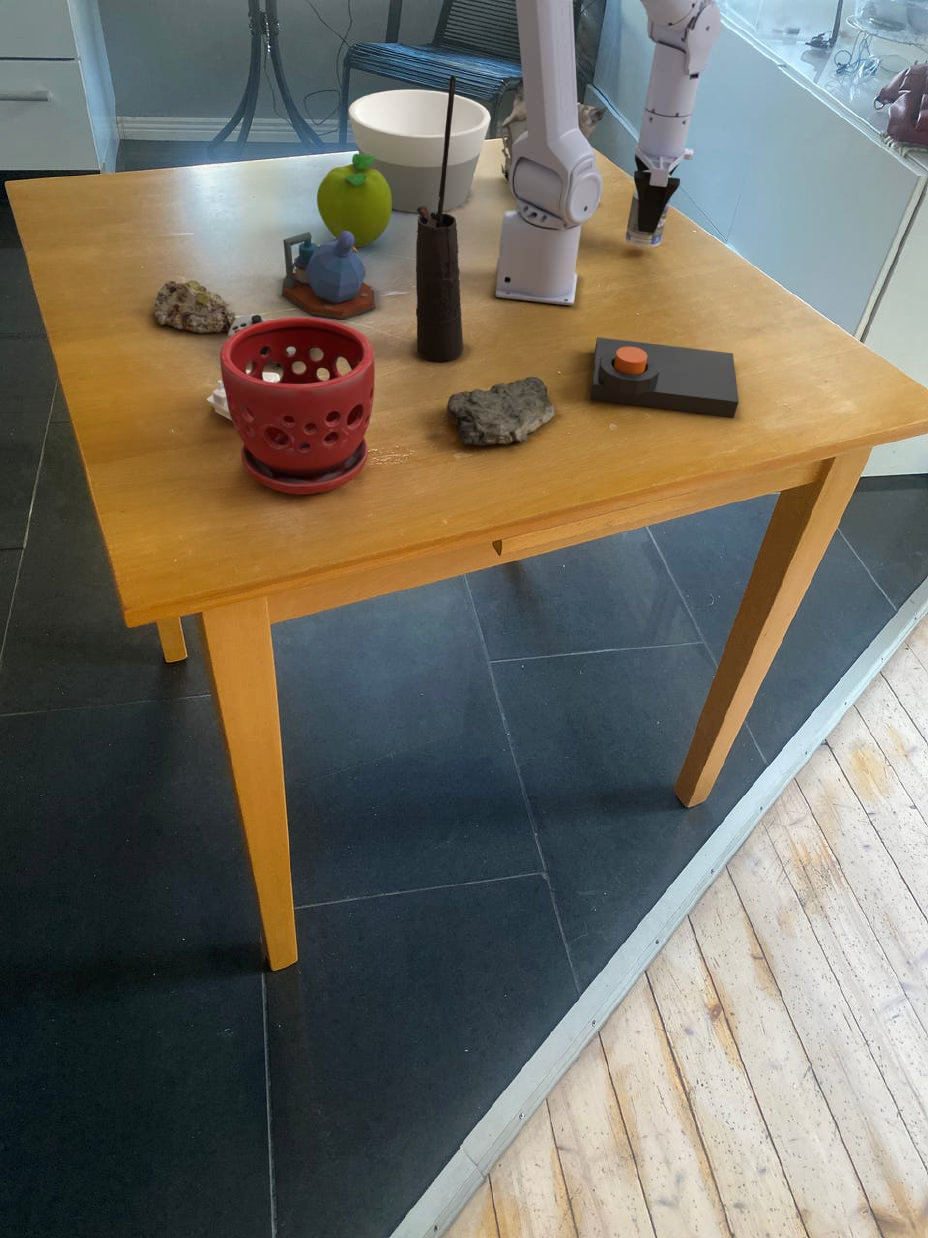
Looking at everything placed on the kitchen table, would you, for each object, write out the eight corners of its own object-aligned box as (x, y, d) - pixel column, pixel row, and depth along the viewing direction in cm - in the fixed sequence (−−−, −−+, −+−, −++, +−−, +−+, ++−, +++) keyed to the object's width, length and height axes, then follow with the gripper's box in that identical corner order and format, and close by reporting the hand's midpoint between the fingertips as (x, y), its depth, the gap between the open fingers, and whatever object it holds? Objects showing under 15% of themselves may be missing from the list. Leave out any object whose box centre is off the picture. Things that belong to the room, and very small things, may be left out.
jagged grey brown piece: (598, 203, 136) (613, 104, 127) (583, 212, 134) (597, 111, 125) (511, 175, 142) (520, 78, 133) (495, 183, 140) (502, 85, 130)
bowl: (334, 173, 139) (330, 93, 131) (456, 162, 145) (459, 84, 137) (375, 227, 127) (374, 142, 119) (506, 212, 132) (513, 130, 125)
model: (390, 302, 112) (390, 224, 105) (327, 326, 107) (322, 246, 101) (329, 265, 118) (325, 189, 111) (266, 286, 113) (259, 208, 107)
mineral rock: (128, 297, 105) (179, 255, 108) (143, 327, 109) (191, 286, 112) (197, 332, 101) (248, 288, 104) (210, 362, 105) (258, 319, 108)
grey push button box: (589, 405, 99) (594, 375, 96) (594, 352, 106) (599, 323, 104) (734, 423, 98) (743, 393, 95) (728, 368, 106) (736, 339, 103)
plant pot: (402, 477, 88) (403, 362, 80) (275, 524, 83) (262, 405, 74) (332, 409, 96) (326, 297, 87) (211, 449, 90) (192, 333, 81)
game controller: (325, 335, 104) (305, 316, 98) (312, 383, 104) (291, 367, 98) (246, 317, 106) (222, 298, 100) (233, 364, 106) (209, 347, 100)
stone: (529, 385, 101) (532, 361, 99) (578, 426, 96) (582, 402, 94) (416, 422, 95) (416, 397, 93) (461, 468, 90) (463, 442, 88)
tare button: (613, 373, 97) (615, 360, 96) (614, 358, 100) (616, 344, 99) (644, 377, 97) (647, 364, 96) (644, 361, 99) (647, 348, 98)
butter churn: (378, 332, 107) (374, 53, 87) (457, 321, 110) (471, 48, 90) (404, 373, 101) (406, 84, 81) (487, 360, 104) (508, 77, 84)
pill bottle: (659, 251, 123) (673, 184, 117) (623, 245, 123) (635, 179, 118) (661, 236, 126) (675, 170, 120) (626, 231, 127) (638, 165, 121)
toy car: (202, 414, 94) (195, 377, 91) (261, 382, 99) (257, 345, 96) (235, 432, 92) (230, 395, 89) (294, 399, 97) (291, 362, 94)
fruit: (398, 231, 126) (398, 152, 119) (381, 261, 120) (380, 179, 112) (331, 222, 127) (328, 143, 120) (311, 252, 120) (306, 170, 113)
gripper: (704, 133, 108) (678, 249, 118) (699, 94, 118) (676, 204, 128) (642, 126, 109) (621, 243, 118) (643, 88, 119) (624, 198, 128)
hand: (646, 222), depth 123 cm, fingers closed on pill bottle, 5 cm apart
